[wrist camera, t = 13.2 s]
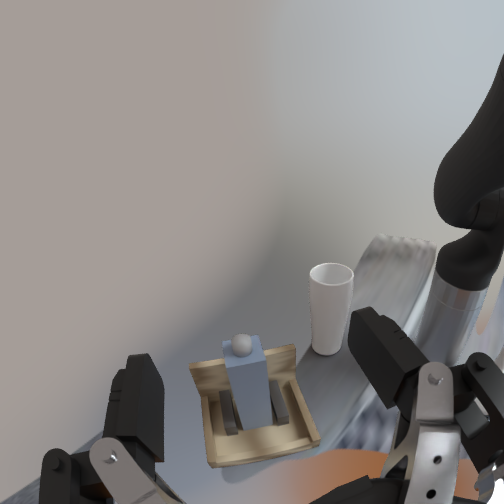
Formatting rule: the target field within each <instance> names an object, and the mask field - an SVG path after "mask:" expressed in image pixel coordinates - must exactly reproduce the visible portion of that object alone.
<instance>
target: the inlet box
mask: <svg viewBox="0 0 504 504" xmlns="http://www.w3.org/2000/svg"><path fill="white" fill-rule="evenodd" d="M264 354H265V357H266V362H267V371H268V381H269V391H270V401H271V411H272V421H273V425H270V426H265V427H260V428H256V429H250V430H245V431H244V430H243V427H242V423H241V420H240V417H239V413H238V410H237V406H236V403H235V399H234V396H233V392H232V388H231V385H230V381H229V377H228V374H227V370H226V365H225V359H224V358H222V359H216V360H210V361H203V362H196V363H190V364H189V369H190V372H191V374H192V377H193V379H194V382H195V384H196V387H197V389H198V391H199V394H200V396H201V405H202V416H203V427H204V436H205V445H206V454H207V461H208V464H209V465H210V466H211V467H212V468H220V467H228V466H235V465H241V464H247V463H253V462H258V461H263V460H268V459H273V458H277V457H281V456H285V455H289V454H293V453H297V452H300V451H304V450H307V449H311V448H314V447H317V446H319V444H320V440H321V438H320V436H319V433H318V431H317V429H316V426H315V424H314V422H313V419H312V417H311V414H310V412H309V410H308V407H307V405H306V403H305V400H304V398H303V395H302V393H301V391H300V388H299V386H298V383H297V381H296V379H295V373H296V348H295V346H294V344H290V345H286V346H282V347H278V348H273V349H269V350H264Z"/></svg>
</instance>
